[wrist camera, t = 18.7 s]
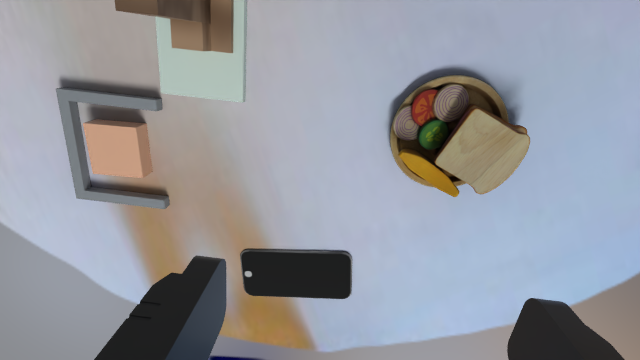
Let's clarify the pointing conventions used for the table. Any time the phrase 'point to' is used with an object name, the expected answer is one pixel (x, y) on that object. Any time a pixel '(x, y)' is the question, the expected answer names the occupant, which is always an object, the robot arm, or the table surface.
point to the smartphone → (297, 273)
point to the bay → (77, 150)
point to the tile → (118, 148)
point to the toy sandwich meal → (457, 136)
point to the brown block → (191, 21)
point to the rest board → (204, 64)
